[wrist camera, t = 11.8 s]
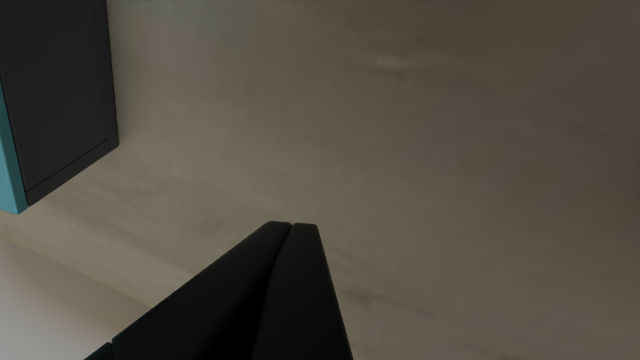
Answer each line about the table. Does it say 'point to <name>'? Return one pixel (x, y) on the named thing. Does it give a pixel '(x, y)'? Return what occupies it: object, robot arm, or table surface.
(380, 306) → the table surface
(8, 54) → the tray
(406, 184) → the table surface
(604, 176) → the table surface
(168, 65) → the table surface
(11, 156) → the cover
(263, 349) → the robot arm
